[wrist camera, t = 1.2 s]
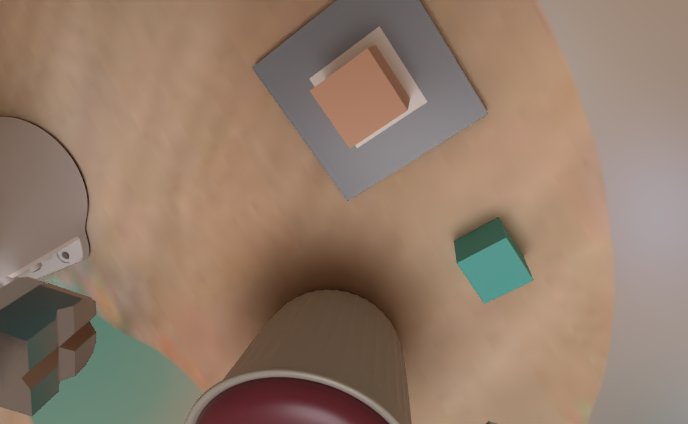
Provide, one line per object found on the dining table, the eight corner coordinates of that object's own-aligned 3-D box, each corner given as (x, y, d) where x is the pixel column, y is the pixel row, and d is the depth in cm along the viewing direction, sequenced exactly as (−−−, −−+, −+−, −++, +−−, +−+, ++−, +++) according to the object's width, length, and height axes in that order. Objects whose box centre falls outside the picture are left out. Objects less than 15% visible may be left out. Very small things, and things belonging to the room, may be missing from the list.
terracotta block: (359, 132, 40) (349, 148, 35) (325, 81, 39) (309, 90, 34) (410, 98, 39) (407, 110, 33) (376, 45, 38) (367, 48, 32)
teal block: (479, 278, 45) (484, 303, 41) (453, 240, 44) (456, 263, 40) (523, 256, 43) (533, 280, 39) (498, 217, 42) (506, 237, 38)
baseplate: (349, 196, 44) (347, 201, 43) (256, 66, 41) (251, 67, 40) (486, 111, 39) (488, 113, 38) (393, -43, 36) (392, -45, 35)
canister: (264, 240, 47) (151, 390, 27) (445, 284, 45) (461, 476, 26) (245, 381, 54) (143, 581, 34) (401, 423, 52) (388, 656, 33)
